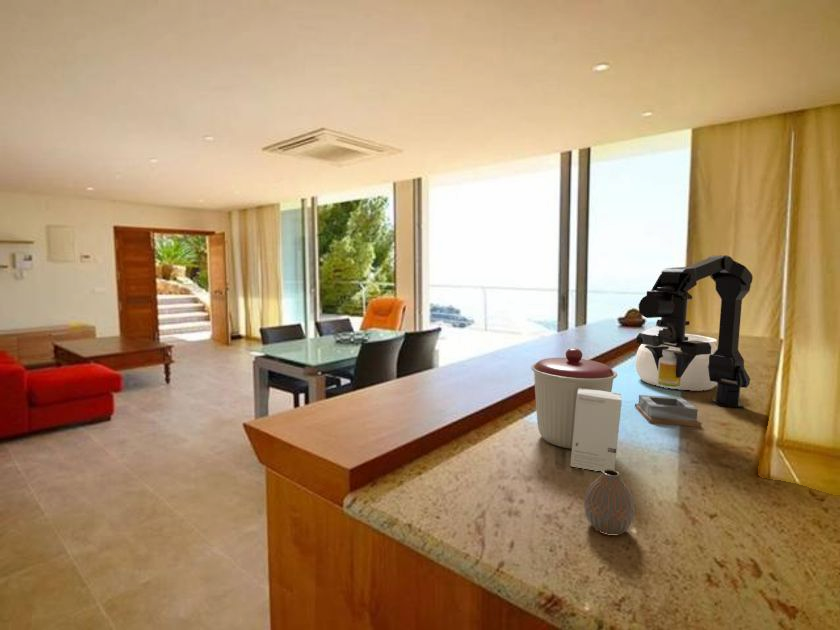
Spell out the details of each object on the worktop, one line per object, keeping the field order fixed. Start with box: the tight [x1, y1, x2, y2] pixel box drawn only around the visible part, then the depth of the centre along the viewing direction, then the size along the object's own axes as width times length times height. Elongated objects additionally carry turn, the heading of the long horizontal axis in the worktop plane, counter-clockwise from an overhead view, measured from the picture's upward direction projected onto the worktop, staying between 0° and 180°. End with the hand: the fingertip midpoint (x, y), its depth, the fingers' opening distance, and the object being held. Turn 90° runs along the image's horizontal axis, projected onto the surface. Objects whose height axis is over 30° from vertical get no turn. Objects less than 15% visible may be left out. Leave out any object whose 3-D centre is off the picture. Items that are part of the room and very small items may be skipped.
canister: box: [530, 347, 618, 450], centre depth 104 cm, size 18×18×21 cm
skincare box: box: [569, 388, 622, 471], centre depth 91 cm, size 8×6×15 cm
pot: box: [634, 333, 718, 392], centre depth 161 cm, size 29×26×16 cm
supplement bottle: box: [657, 349, 681, 390], centre depth 123 cm, size 5×5×10 cm
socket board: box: [634, 394, 702, 428], centre depth 125 cm, size 14×12×4 cm
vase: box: [583, 469, 635, 535], centre depth 69 cm, size 7×7×9 cm
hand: (669, 375), depth 124 cm, fingers closed on supplement bottle, 5 cm apart
